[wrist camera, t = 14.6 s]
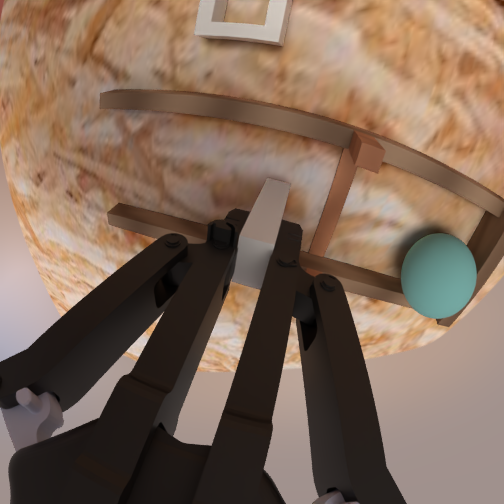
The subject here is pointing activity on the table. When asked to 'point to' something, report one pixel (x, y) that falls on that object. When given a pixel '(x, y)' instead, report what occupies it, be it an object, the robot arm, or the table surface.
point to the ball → (438, 275)
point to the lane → (354, 155)
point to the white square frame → (216, 28)
